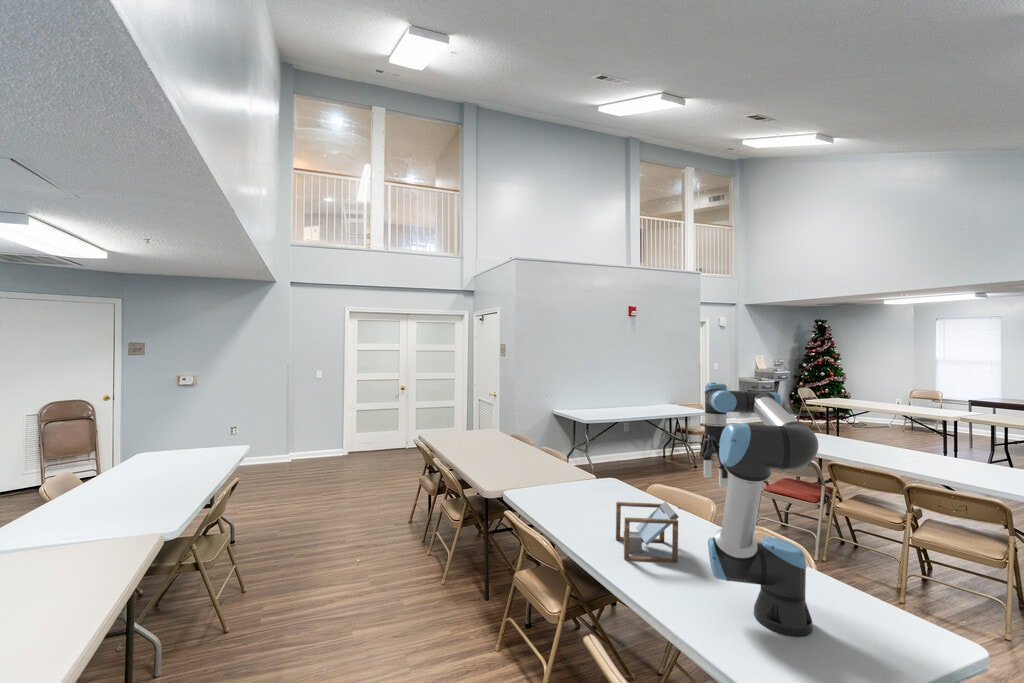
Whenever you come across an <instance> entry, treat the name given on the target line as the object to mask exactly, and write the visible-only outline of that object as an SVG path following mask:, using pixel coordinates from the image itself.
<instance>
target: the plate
mask: <svg viewBox="0 0 1024 683" xmlns="http://www.w3.org/2000/svg"><path fill="white" fill-rule="evenodd" d="M661 504H662V505H661V506H660V507H661V509H662V510H663V511H664V512H665V514H664V513H663V512H662V510H661V509H660V508H659V507H658V508H656V509H655V510H654V511H653V512H652V513H651V514H649V515H648V516H647V517H646V518H651V519H675V520H678V518H680V516H679V515H678V514H677V513H676V512H675V510H674V509H673V508H672V507H671V506H670V505H669V503H667V501H664V502H663V503H661ZM671 525H672V524H660V523H639V524H638V525H637V526H635V528H636V530H637V532H639V534H640V535H641V537H642V539H643V541H644V542H643V543H644V544H645V545H646V546H648V545H649V544H650V543H653V542H652V541H653V540H654V539H655V538H658V537H659V534H661V533H662V532H663V531H664V532H665V531H666V529H668V528H669V527H670V526H671Z"/></svg>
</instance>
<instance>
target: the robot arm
mask: <svg viewBox="0 0 1024 683" xmlns="http://www.w3.org/2000/svg"><path fill="white" fill-rule="evenodd" d="M704 389H705V390H704V423H705V425H704V441H703V445H702V449H701V454H700V457H701V458H702V459H703V478H710V479H711V478H712V466H713V464H712V461H713V454H714V453H716V456H717V459H718V463H719V467H718V470H719V473H718V476H719V477H718V478H719V484H718V485H719V488H726V493H725V502H724V509H723V517H722V523H721V528H720V529H718V530H717V531H716V532H715V536H714V537H709V538H708V539H707V548H708V550H707V551H708V556H709V557H708V558H709V562H710V568H711V573H712V575H713V576H714V578H716V579H717V580H720V581H721V580H722V581H726V582H732V583H733V582H735V583H744V584H750V585H760V590H759V592H758V595H757V598H756V600H755V601H754V602H755V603H754V605H753V616H754V618H755V619H756V621H757V622H759V623H760V624H761V625H763V626H764V627H766V628H768V629H769V630H772V631H773V632H777V633H779V634H782V635H787V636H791V637H805V636H808V635H811V633H812V632H813V620H812V616H811V613H810V611H809V607H808V605H807V600H806V590H807V589H806V586H807V585H806V579H807V578H806V574H807V572H806V570H807V565H806V563H807V562H806V554H805V553H804V551H803V549H801V548H800V547H799V546H797V545H795V544H794V543H791V542H789V541H788V540H784V539H781V538H777V537H774V536H773V537H772V536H762V537H761V539H760V541H759V542H757V541H756V539H755V538H754V537H755V536H754V535H755V531H756V524H757V520H758V512H759V507H760V500H761V495H762V489H763V483H764V482H765V481H767V480H769V479H770V477H771V475H772V470H780V471H781V470H782V471H795V470H798V469H802V468H804V467H806V466H807V465H809V464H810V463H811V462H812V461H813V460H814V459H815V458H816V456H817V454H818V450H819V440H818V437H817V436H816V434H815V432H814V431H813V430H812V429H811V427H809V425H807V424H806V423H803V422H801V421H797V420H796V419H795V418H794V417H793V416H792V415H791V414H790V413H789V412H787V411H786V410H785V408H784V407H782V406H783V405H782V404H783V402H782V398H781V395H780V394H779V393H777V392H774V391H773V392H771V391H752V390H751V391H750V390H749V391H747V390H728V388H727V385H726V383H706V384H705V386H704ZM727 413H743V414H745V413H749V414H755V415H756V416H757V417H758V418H759V420H761V422H762V423H763V424H752V423H751V424H749V423H746V422H742V423H729V424H728V425H727V422H728V421H727V419H728V415H727Z"/></svg>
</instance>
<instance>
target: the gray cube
mask: <svg viewBox="0 0 1024 683" xmlns="http://www.w3.org/2000/svg"><path fill="white" fill-rule="evenodd" d="M630 553H633V554H643V542H642V537H641V535H640V534H639V532H638V531H629V554H630Z"/></svg>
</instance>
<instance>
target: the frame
mask: <svg viewBox="0 0 1024 683" xmlns="http://www.w3.org/2000/svg"><path fill="white" fill-rule="evenodd" d="M662 504H663V503H652V502H651V503H650V502H629V501H628V502H625V501H616V504H615V510H616V512H615V540H616V541H618V542H619V541H623V559H624V561H635V562H636V561H637V562H655V563H656V562H658V563H659V562H660V563H678V561H679V560H678V559H679V520H678V519H676V520H675V519H669V518H668V519H651V518H647V517H624V526H623V527H624V530H623V536H621V523H622V522H621V519H622V518H621V517H622V516H621V515H622V514H621V513H622V512H621V511H622V507H630V508H631V507H632V508H633V507H636V508H656V509H657V508H658V507H659V508H660V509H661V507H660V506H661V505H662ZM661 510H662V509H661ZM662 512H663V513H664V514H665V512H664V511H663V510H662ZM665 515H666V514H665ZM630 523H636V524H637V523H639V524H640V523H660V524H671V525H672V538H671V539H672V547H671V548H672V549H671V550H672V551H671V554H672V555H671V556H672V557H667V556H665V557H664V556H663V557H661V556H641V555H640V556H639V555H637V556H636V555H630V553H629V532H630V525H631V524H630ZM658 537H659V538H658ZM658 537H656V538H655V539H654V540H653V541H652V542H651V543H665V530H664V531H663V532H662V533H661V534H659V535H658ZM642 543H644V541H643V539H642Z"/></svg>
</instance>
